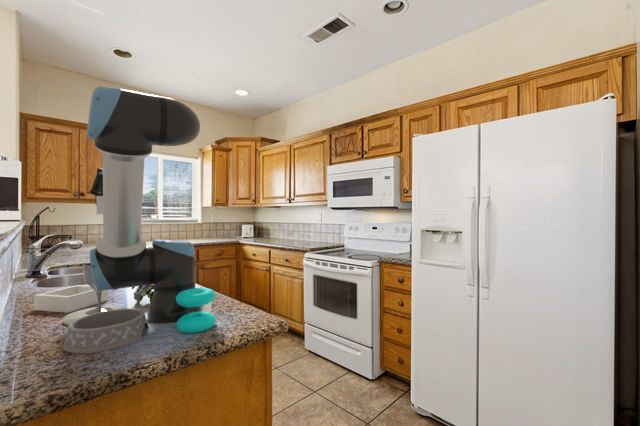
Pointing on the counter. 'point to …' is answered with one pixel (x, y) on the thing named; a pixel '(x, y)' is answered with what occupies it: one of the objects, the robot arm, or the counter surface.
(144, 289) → the passion flower
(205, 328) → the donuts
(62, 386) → the counter surface
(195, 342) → the counter surface
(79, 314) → the plate
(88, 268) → the wine glass
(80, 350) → the dog bowl
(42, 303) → the holder
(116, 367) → the counter surface
